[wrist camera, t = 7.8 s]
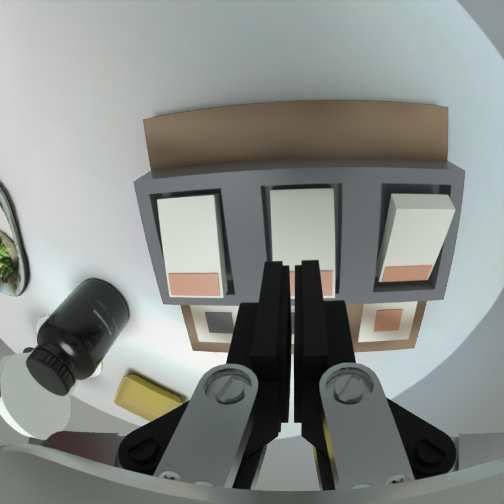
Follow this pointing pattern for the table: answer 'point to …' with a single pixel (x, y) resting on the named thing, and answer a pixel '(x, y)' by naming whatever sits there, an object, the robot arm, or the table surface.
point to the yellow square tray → (145, 398)
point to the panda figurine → (32, 399)
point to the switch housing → (345, 213)
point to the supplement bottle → (77, 336)
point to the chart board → (301, 147)
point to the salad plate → (11, 256)
